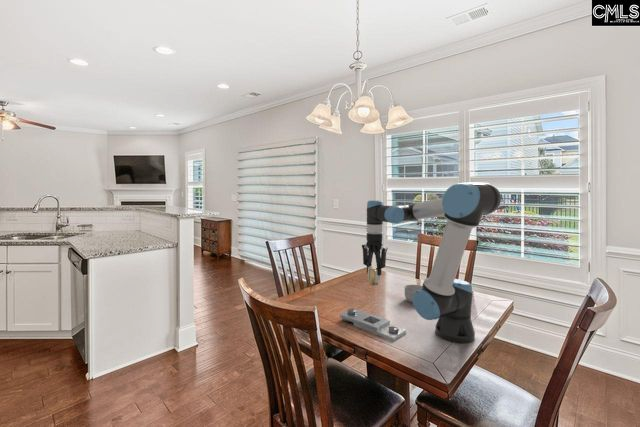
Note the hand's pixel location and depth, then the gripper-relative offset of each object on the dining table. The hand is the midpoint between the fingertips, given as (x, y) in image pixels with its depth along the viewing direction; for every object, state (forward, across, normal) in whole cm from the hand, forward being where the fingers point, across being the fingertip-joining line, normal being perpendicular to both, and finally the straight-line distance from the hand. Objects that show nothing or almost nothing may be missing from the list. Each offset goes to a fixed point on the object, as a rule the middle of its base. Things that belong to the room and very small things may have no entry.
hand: (373, 280), depth 157 cm
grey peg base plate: (+16, -9, +14) cm, 23 cm away
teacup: (+16, -9, -28) cm, 33 cm away
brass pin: (+2, 0, 0) cm, 2 cm away
